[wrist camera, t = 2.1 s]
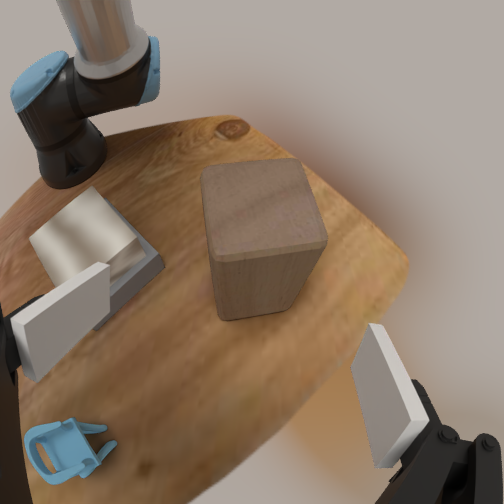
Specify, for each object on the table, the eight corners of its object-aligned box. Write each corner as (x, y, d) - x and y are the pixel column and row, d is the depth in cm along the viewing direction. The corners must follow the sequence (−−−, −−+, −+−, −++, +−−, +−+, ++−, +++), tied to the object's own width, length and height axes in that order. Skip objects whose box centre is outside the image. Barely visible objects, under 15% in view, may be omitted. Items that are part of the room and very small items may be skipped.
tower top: (102, 205, 43) (92, 185, 39) (146, 255, 40) (137, 236, 35) (44, 254, 39) (28, 238, 34) (80, 313, 35) (63, 300, 31)
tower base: (114, 215, 48) (105, 197, 44) (165, 268, 45) (158, 253, 40) (53, 268, 43) (39, 255, 39) (97, 331, 39) (83, 322, 35)
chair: (127, 457, 31) (92, 474, 21) (84, 478, 29) (41, 495, 18) (97, 409, 34) (54, 408, 23) (57, 431, 31) (8, 433, 21)
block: (209, 257, 45) (198, 162, 28) (275, 248, 47) (301, 153, 29) (219, 323, 41) (211, 258, 23) (290, 311, 43) (334, 240, 25)
